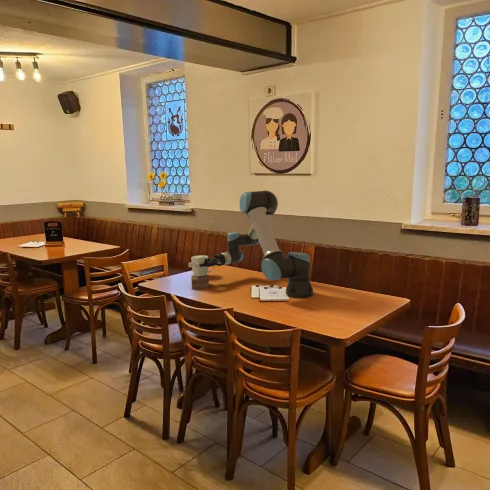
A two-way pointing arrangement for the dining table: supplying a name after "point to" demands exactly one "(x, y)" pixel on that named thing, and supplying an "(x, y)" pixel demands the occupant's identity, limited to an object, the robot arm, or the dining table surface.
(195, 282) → the walnut base
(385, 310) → the dining table surface
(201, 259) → the sage block
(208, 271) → the mug
